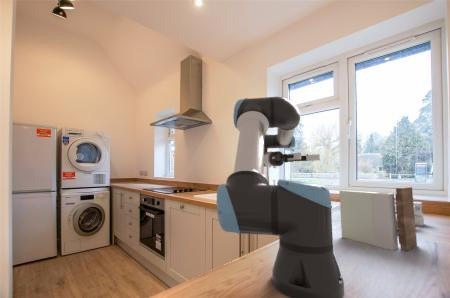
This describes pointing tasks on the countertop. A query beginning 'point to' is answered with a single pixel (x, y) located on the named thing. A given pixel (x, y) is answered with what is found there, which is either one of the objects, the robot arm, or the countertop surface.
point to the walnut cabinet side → (405, 218)
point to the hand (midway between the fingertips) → (310, 156)
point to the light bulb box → (418, 213)
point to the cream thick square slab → (369, 218)
